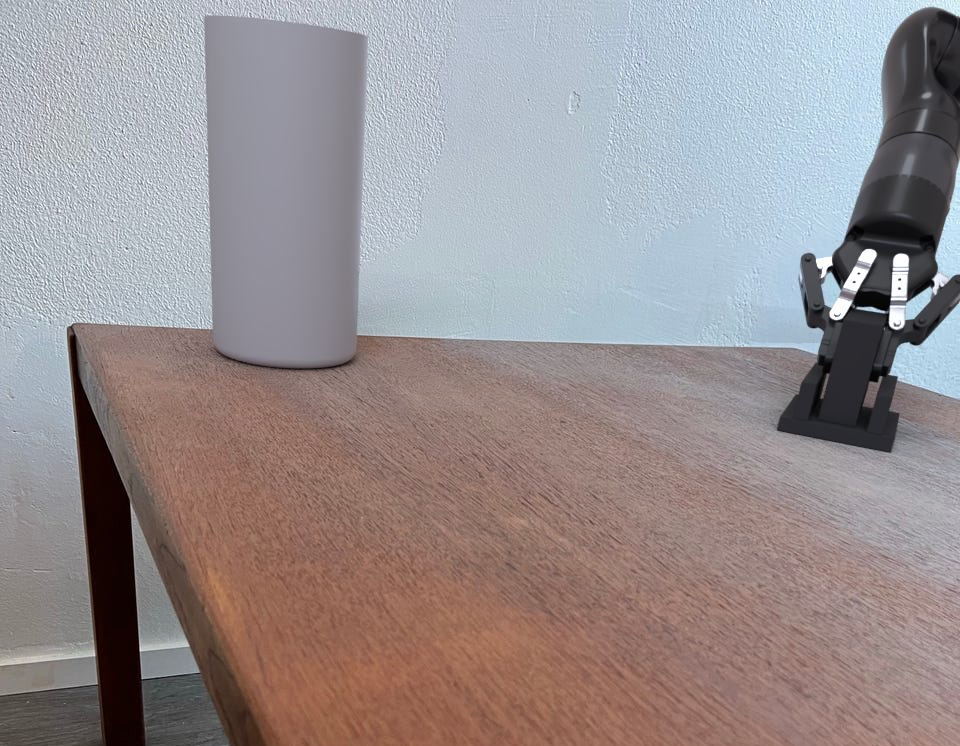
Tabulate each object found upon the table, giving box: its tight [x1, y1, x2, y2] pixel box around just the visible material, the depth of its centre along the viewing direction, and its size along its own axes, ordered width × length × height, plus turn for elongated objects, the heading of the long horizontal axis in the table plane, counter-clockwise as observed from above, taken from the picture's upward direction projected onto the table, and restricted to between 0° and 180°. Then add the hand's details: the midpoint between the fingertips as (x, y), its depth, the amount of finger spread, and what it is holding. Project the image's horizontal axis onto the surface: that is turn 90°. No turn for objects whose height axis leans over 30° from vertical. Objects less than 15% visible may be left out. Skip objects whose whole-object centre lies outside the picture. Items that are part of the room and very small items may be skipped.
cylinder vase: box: [203, 14, 369, 369], centre depth 82 cm, size 12×12×25 cm
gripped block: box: [818, 308, 887, 427], centre depth 82 cm, size 8×3×8 cm, turn 157°
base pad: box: [776, 361, 901, 453], centre depth 83 cm, size 10×9×4 cm
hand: (851, 371), depth 80 cm, fingers open, 3 cm apart
